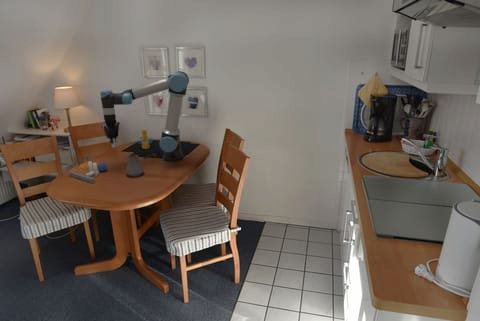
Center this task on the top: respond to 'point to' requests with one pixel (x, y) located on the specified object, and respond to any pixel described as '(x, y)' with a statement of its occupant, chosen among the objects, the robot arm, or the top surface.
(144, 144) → the yellow tall rounded piece
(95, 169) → the back left pin
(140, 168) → the coffee pot
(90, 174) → the front pin
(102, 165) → the ball
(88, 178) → the grey long bar
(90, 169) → the back right pin
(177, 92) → the robot arm
